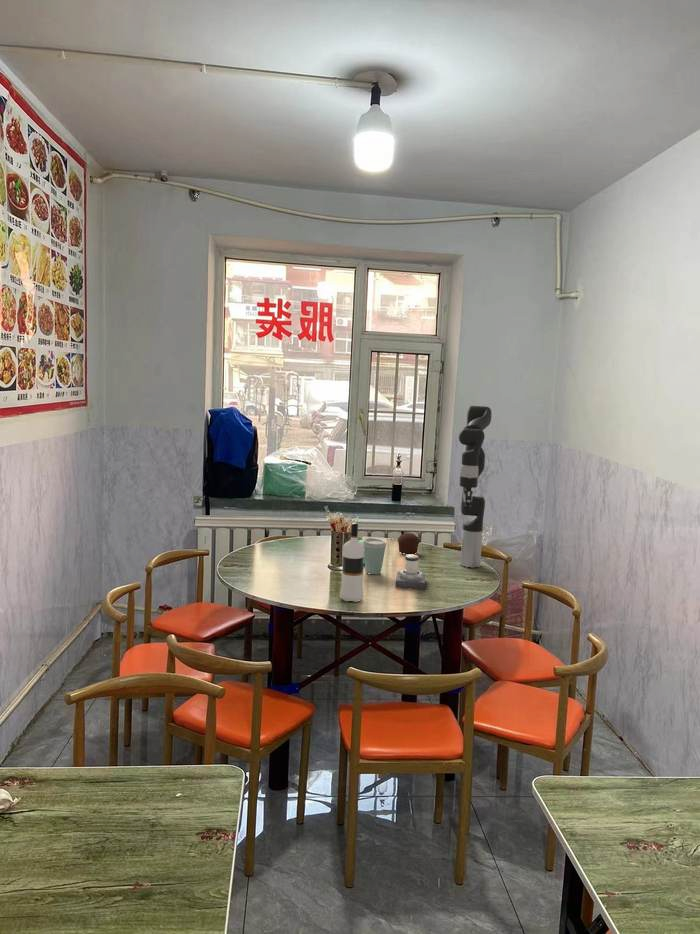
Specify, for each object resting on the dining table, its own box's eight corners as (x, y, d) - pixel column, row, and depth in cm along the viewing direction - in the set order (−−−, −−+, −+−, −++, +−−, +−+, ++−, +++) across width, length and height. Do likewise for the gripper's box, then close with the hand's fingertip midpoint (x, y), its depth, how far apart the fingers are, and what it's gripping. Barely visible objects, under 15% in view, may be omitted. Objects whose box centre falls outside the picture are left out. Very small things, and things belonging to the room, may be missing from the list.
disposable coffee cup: (389, 572, 304) (390, 539, 302) (377, 578, 295) (379, 544, 293) (368, 568, 309) (369, 536, 307) (356, 573, 300) (358, 540, 298)
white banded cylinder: (405, 574, 291) (405, 554, 289) (418, 575, 290) (418, 555, 288) (404, 578, 285) (404, 557, 284) (417, 579, 284) (418, 558, 283)
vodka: (334, 598, 264) (337, 522, 260) (350, 593, 271) (354, 519, 267) (351, 604, 258) (355, 526, 254) (368, 599, 264) (372, 523, 261)
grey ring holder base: (397, 578, 296) (397, 567, 295) (424, 580, 294) (425, 569, 294) (395, 587, 282) (396, 575, 281) (424, 589, 281) (425, 578, 280)
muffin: (402, 549, 349) (403, 530, 348) (422, 552, 345) (423, 533, 343) (393, 553, 339) (394, 534, 338) (414, 557, 334) (415, 537, 333)
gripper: (459, 473, 297) (457, 509, 299) (460, 477, 283) (458, 515, 285) (476, 474, 297) (474, 510, 299) (479, 478, 283) (476, 516, 284)
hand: (466, 513), depth 292 cm, fingers open, 8 cm apart
